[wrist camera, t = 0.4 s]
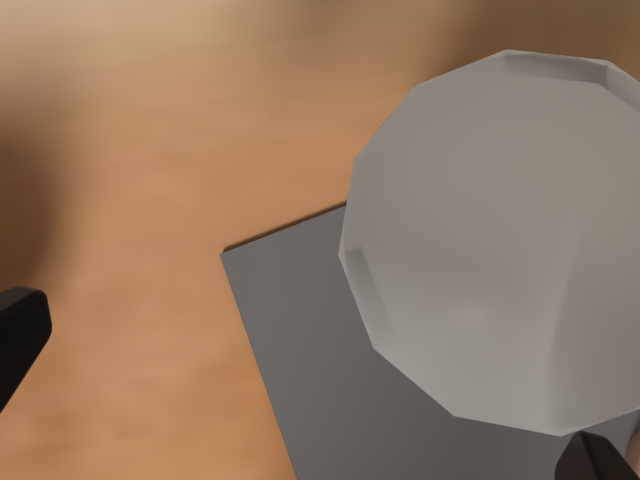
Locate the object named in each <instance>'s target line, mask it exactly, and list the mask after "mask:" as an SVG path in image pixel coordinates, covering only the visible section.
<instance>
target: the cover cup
mask: <svg viewBox="0 0 640 480" xmlns="http://www.w3.org/2000/svg"><path fill="white" fill-rule="evenodd" d="M338 256H339V258H340V261H341V264H342V266H343V269H344V272H345V274H346V277H347V280H348V282H349V285H350V288H351V290H352V293H353V296H354V298H355V301H356V304H357V306H358V309H359V311H360V314H361V317H362V319H363V322H364V325H365V327H366V330H367V333H368V335H369V338H370V341H371V343H372V346H373V349H375V350H376V351H377V352H378V353H379V354H381V355H382V356H383V357H384V358H385V359H387V360H388V361H389V362H390V363H391V364H393V365H394V366H395V367H396V368H397V369H399V370H400V371H401V372H402V373H403V374H404V375H406V376H407V377H408V378H409V379H410V380H412V381H413V382H414V383H415V384H416V385H418V386H419V387H420V388H421V389H422V390H424V391H425V392H426V393H427V394H428V395H430V396H431V397H432V398H433V399H434V400H435V401H437V402H438V403H439V404H440V405H441V406H443V407H444V408H445V409H446V410H447V411H449V412H450V413H451V414H452V415H453V416H456V417H461V418H467V419H472V420H477V421H482V422H487V423H493V424H498V425H503V426H508V427H513V428H519V429H524V430H529V431H534V432H540V433H545V434H550V435H555V436H560V437H561V436H564V435H567V434H570V433H572V432H575V431H578V430H581V429H584V428H587V427H590V426H592V425H595V424H598V423H601V422H604V421H607V420H610V419H612V418H615V417H618V416H621V415H624V414H627V413H630V412H633V411H635V410H638V409H640V82H639V81H638V80H636V79H635V78H633V77H632V76H630V75H629V74H627V73H626V72H624V71H623V70H621V69H620V68H619V67H617V66H616V65H614V64H613V63H611V62H610V61H609V60H600V59H591V58H582V57H573V56H564V55H555V54H546V53H537V52H528V51H519V50H510V49H506V50H503V51H501V52H498V53H496V54H493V55H490V56H488V57H485V58H483V59H480V60H478V61H475V62H473V63H470V64H468V65H465V66H463V67H460V68H458V69H455V70H453V71H450V72H448V73H445V74H443V75H440V76H438V77H435V78H432V79H430V80H427V81H425V82H422V83H420V84H417V85H415V86H414V87H413V88H412V90H411V91H410V92H409V93H408V94H407V96H406V97H405V98H404V99H403V100H402V102H401V103H400V104H399V105H398V107H397V108H396V109H395V110H394V111H393V113H392V114H391V115H390V116H389V118H388V119H387V120H386V121H385V122H384V124H383V125H382V126H381V127H380V128H379V130H378V131H377V132H376V133H375V135H374V136H373V137H372V138H371V139H370V141H369V142H368V143H367V144H366V146H365V147H364V148H363V149H362V150H361V152H360V153H359V154H358V155H357V156H356V158H355V159H354V162H353V168H352V174H351V180H350V186H349V192H348V198H347V204H346V210H345V216H344V222H343V228H342V234H341V240H340V246H339V253H338Z"/></svg>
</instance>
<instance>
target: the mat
mask: <svg viewBox="0 0 640 480" xmlns="http://www.w3.org/2000/svg"><path fill="white" fill-rule="evenodd" d="M345 210H346V206H343V207H341V208H338V209H335V210H333V211H330V212H328V213H325V214H323V215H320V216H317V217H315V218H312V219H310V220H307V221H304V222H302V223H299V224H297V225H294V226H291V227H289V228H286V229H284V230H281V231H278V232H276V233H273V234H271V235H268V236H265V237H263V238H260V239H258V240H255V241H252V242H250V243H247V244H245V245H242V246H239V247H237V248H234V249H232V250H229V251H226V252H224V253H221V254H220V257H221V260H222V263H223V266H224V268H225V271H226V274H227V277H228V280H229V283H230V286H231V289H232V292H233V294H234V297H235V300H236V303H237V306H238V309H239V312H240V315H241V318H242V321H243V323H244V326H245V329H246V332H247V335H248V338H249V341H250V344H251V347H252V349H253V352H254V355H255V358H256V361H257V364H258V367H259V370H260V373H261V376H262V378H263V381H264V384H265V387H266V390H267V393H268V396H269V399H270V402H271V404H272V407H273V410H274V413H275V416H276V419H277V422H278V425H279V428H280V431H281V433H282V436H283V439H284V442H285V445H286V448H287V451H288V454H289V457H290V459H291V462H292V465H293V468H294V471H295V474H296V477H297V480H554V474H555V468H556V464H557V462H558V460H559V458H560V456H561V454H562V453H563V451H564V449H565V448H566V446H567V444H568V442H569V441H570V439H571V437H572V436H573V434H574V433H575V432H576V431H575V432H572V433H570V434H567V435H564V436H561V437H560V436H555V435H550V434H545V433H540V432H534V431H529V430H524V429H519V428H513V427H508V426H503V425H498V424H493V423H487V422H482V421H477V420H472V419H467V418H461V417H456V416H453V415H452V414H451V413H450V412H449V411H447V410H446V409H445V408H444V407H443V406H441V405H440V404H439V403H438V402H437V401H435V400H434V399H433V398H432V397H431V396H430V395H428V394H427V393H426V392H425V391H424V390H422V389H421V388H420V387H419V386H418V385H416V384H415V383H414V382H413V381H412V380H410V379H409V378H408V377H407V376H406V375H404V374H403V373H402V372H401V371H400V370H399V369H397V368H396V367H395V366H394V365H393V364H391V363H390V362H389V361H388V360H387V359H385V358H384V357H383V356H382V355H381V354H379V353H378V352H377V351H376V350H375V349H373V346H372V343H371V341H370V338H369V335H368V333H367V330H366V327H365V325H364V322H363V319H362V317H361V314H360V311H359V309H358V306H357V304H356V301H355V298H354V296H353V293H352V290H351V288H350V285H349V282H348V280H347V277H346V274H345V272H344V269H343V266H342V264H341V261H340V258H339V256H338V253H339V246H340V240H341V234H342V228H343V222H344V216H345ZM638 429H640V409H638V410H635V411H633V412H630V413H627V414H624V415H621V416H618V417H615V418H612V419H610V420H607V421H604V422H601V423H598V424H595V425H592V426H590V427H587V428H584V429H581V430H583V431H587V432H591V433H595V434H599V435H602V436H605V437H606V438H607V439H609V440H610V441H611V443H612V444H613V445H614V446H615V448H616V449H617V450H618V451H619V453H620V454H621V455H622V456H623V458H624V459H625V453H626V448H627V445H628V442H629V440H630V439H631V437H632V436H633V434H634V433H635V432H636V431H637V430H638Z"/></svg>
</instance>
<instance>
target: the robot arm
mask: <svg viewBox="0 0 640 480" xmlns="http://www.w3.org/2000/svg"><path fill="white" fill-rule="evenodd" d="M51 332H52V322H51V316H50V311H49V305H48V300H47V296H46V294H45V293H44V291H42V290H39V289H35V288H31V287H28V286H17V287H14V288H11V289H8V290H5V291H2V292H0V413H1V412H2V410H3V409H4V407H5V406H6V405H7V403H8V402H9V400H10V399H11V397H12V396H13V394H14V392H15V391H16V389H17V388H18V386H19V385H20V383H21V382H22V380H23V378H24V377H25V375H26V374H27V372H28V371H29V369H30V368H31V366H32V365H33V363H34V361H35V360H36V358H37V357H38V355H39V354H40V352H41V351H42V349H43V348H44V346H45V344H46V343H47V341H48V340H49V338H50V335H51ZM554 480H640V478H639V476H638V475H637V474H636V473H635V471H634V470H633V469H632V468H631V466H630V465H629V464H628V463H627V461H626V460H625V459H624V458H623V456H622V455H621V454H620V453H619V451H618V450H617V449H616V448H615V446H614V445H613V444H612V443H611V441H610V440H609V439H607V438H606V437H605V436H602V435H599V434H595V433H591V432H587V431H583V430H578V431H576V432H575V433H574V434H573V436H572V437H571V439H570V441H569V442H568V444H567V446H566V448H565V449H564V451H563V453H562V454H561V456H560V458H559V460H558V462H557V464H556V468H555V474H554Z"/></svg>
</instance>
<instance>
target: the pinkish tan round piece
mask: <svg viewBox="0 0 640 480" xmlns="http://www.w3.org/2000/svg"><path fill="white" fill-rule="evenodd" d="M625 460H626V461H627V463H628V464H629V465H630V466H631V468H632V469H633V470H634V471H635V473H636V474H637V475H638V476H639V478H640V429H638V430H637V431H636V432H635V433H634V434H633V436H632V437H631V439H630V440H629V442H628V445H627V448H626V453H625Z"/></svg>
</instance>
